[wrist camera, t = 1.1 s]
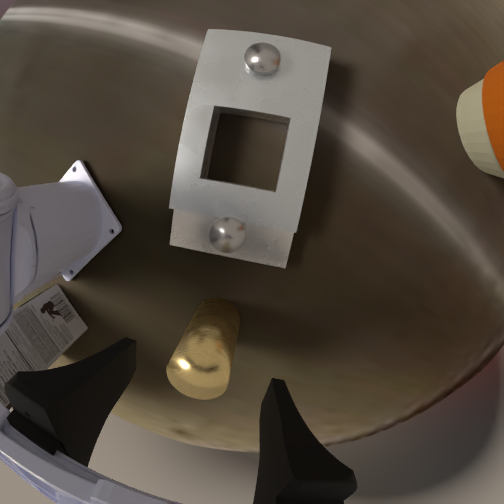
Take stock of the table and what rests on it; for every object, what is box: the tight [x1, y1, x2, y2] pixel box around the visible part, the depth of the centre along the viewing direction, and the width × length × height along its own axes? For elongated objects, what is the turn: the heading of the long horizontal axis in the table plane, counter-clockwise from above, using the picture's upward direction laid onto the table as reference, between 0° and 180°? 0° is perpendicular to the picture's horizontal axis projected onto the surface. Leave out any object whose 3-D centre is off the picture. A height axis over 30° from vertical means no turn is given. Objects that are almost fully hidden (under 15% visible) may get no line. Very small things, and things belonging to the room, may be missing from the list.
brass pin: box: [166, 298, 240, 400], centre depth 20 cm, size 4×4×8 cm
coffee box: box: [0, 284, 88, 410], centre depth 18 cm, size 9×6×16 cm
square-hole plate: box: [169, 29, 331, 268], centre depth 18 cm, size 17×9×3 cm, turn 169°
